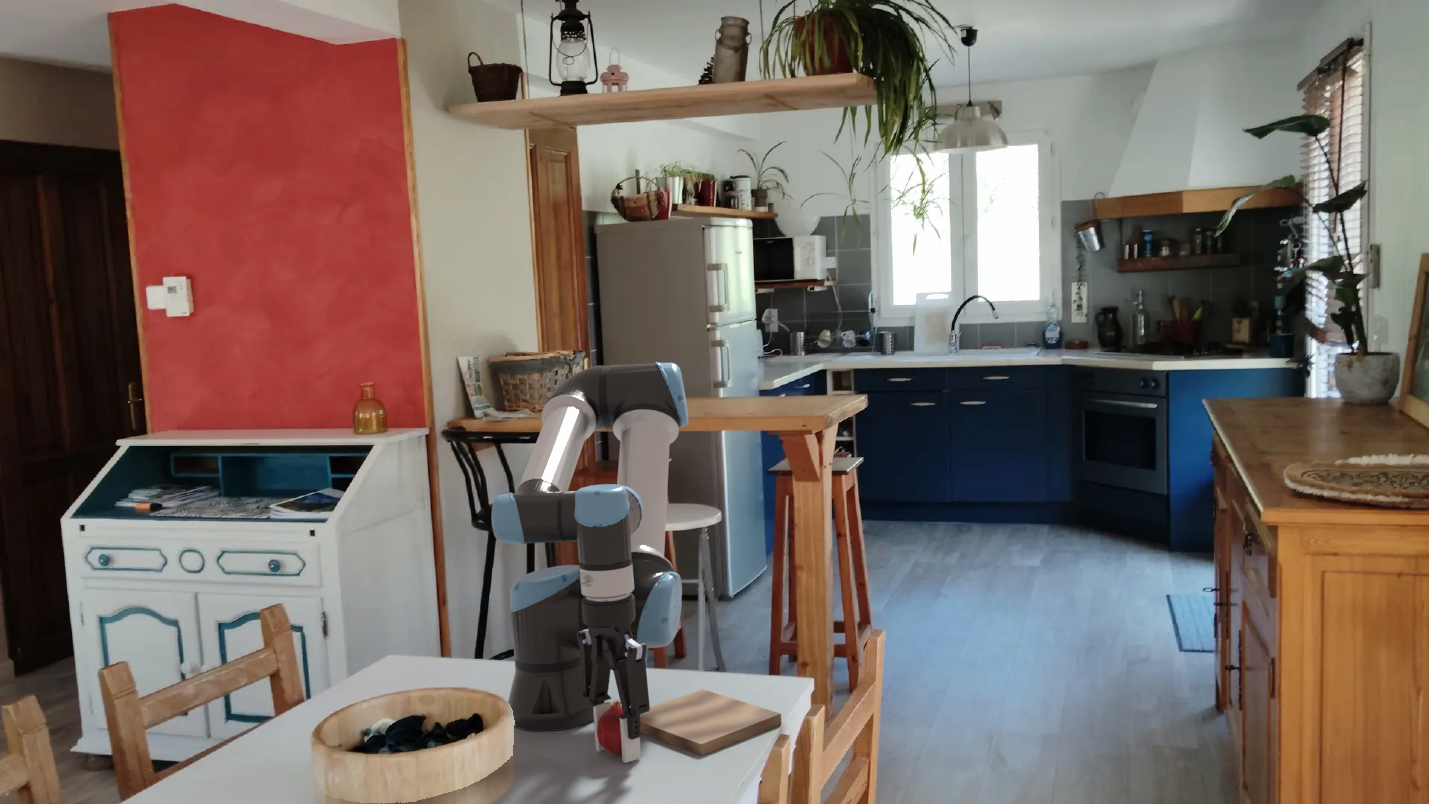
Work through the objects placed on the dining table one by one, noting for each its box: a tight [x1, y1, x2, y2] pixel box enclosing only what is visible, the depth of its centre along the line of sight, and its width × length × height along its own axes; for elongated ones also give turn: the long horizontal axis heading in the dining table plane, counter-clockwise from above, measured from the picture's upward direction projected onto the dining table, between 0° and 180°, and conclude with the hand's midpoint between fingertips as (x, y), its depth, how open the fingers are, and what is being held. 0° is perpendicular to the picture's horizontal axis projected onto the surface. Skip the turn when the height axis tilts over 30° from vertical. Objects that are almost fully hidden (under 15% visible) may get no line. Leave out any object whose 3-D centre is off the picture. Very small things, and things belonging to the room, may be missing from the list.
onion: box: [597, 699, 623, 757], centre depth 166 cm, size 6×6×8 cm
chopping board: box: [640, 689, 782, 756], centre depth 177 cm, size 18×16×2 cm
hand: (618, 753), depth 166 cm, fingers closed on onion, 6 cm apart
